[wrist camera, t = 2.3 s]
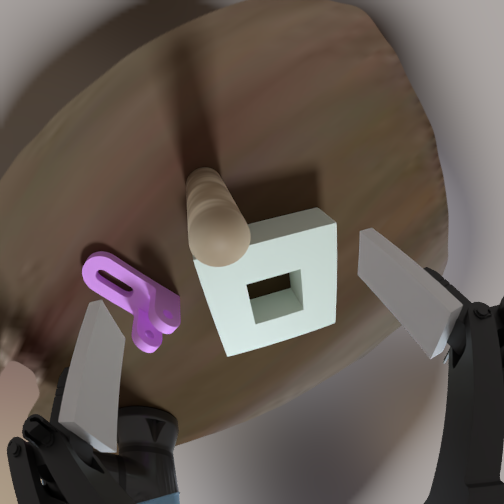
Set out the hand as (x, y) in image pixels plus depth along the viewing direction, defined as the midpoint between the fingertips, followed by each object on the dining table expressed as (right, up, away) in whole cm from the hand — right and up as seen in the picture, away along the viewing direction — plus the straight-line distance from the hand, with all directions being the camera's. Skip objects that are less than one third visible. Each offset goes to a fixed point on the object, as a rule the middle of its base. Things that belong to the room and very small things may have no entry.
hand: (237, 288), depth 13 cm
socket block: (+3, -1, +24) cm, 25 cm away
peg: (-5, +9, +17) cm, 20 cm away
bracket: (-15, -2, +21) cm, 26 cm away
